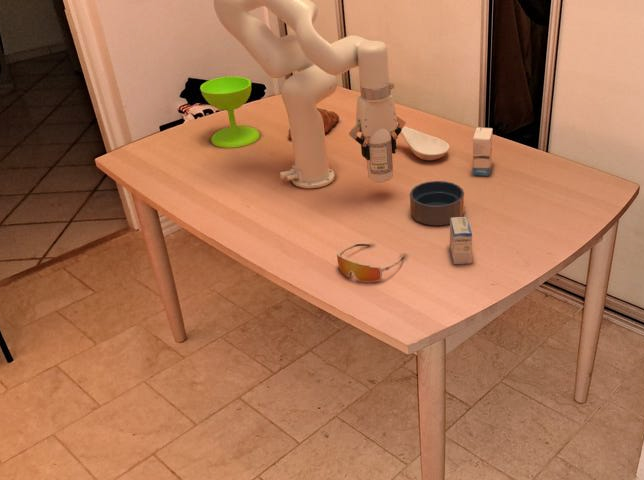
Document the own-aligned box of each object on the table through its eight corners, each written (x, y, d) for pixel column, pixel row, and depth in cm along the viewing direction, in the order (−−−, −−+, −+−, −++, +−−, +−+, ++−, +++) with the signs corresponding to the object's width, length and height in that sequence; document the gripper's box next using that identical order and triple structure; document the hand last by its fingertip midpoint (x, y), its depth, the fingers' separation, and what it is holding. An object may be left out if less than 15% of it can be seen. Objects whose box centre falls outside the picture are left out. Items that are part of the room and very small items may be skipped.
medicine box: (449, 247, 175) (449, 217, 170) (467, 246, 175) (467, 215, 171) (453, 265, 169) (453, 234, 164) (472, 263, 169) (472, 232, 164)
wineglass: (201, 143, 231) (189, 90, 221) (229, 125, 244) (219, 74, 233) (242, 150, 226) (232, 96, 216) (268, 131, 238) (260, 79, 228)
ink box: (488, 176, 206) (490, 139, 199) (472, 175, 207) (472, 138, 200) (492, 164, 213) (493, 127, 206) (475, 163, 214) (476, 126, 207)
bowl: (426, 231, 182) (425, 211, 178) (401, 208, 192) (401, 188, 189) (473, 218, 187) (474, 198, 183) (447, 195, 197) (447, 176, 194)
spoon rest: (456, 154, 220) (456, 132, 215) (435, 168, 212) (435, 146, 208) (394, 138, 231) (393, 117, 227) (373, 151, 223) (371, 129, 219)
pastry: (334, 140, 231) (332, 116, 226) (287, 141, 231) (284, 117, 227) (339, 120, 245) (337, 97, 240) (295, 121, 245) (292, 98, 241)
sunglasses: (327, 272, 167) (326, 253, 165) (363, 250, 179) (364, 232, 177) (376, 289, 161) (376, 270, 159) (411, 265, 173) (412, 247, 170)
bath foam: (397, 179, 193) (393, 110, 182) (374, 185, 191) (368, 115, 179) (387, 169, 198) (382, 101, 187) (364, 175, 196) (358, 106, 185)
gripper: (399, 80, 187) (402, 143, 197) (338, 93, 180) (344, 157, 190) (411, 89, 181) (414, 153, 191) (349, 102, 175) (355, 167, 185)
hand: (379, 154), depth 191 cm, fingers closed on bath foam, 6 cm apart
